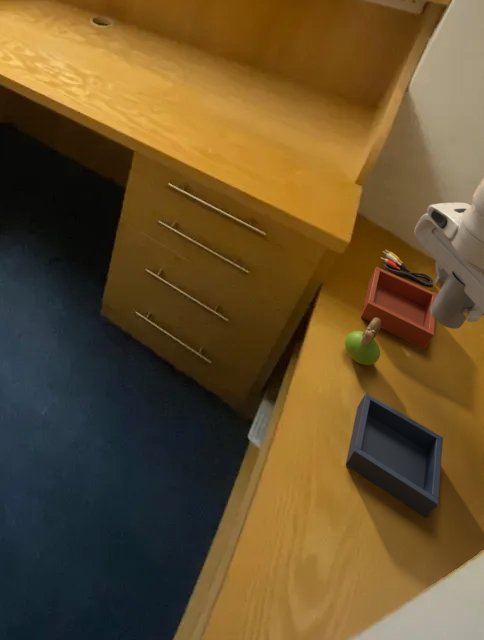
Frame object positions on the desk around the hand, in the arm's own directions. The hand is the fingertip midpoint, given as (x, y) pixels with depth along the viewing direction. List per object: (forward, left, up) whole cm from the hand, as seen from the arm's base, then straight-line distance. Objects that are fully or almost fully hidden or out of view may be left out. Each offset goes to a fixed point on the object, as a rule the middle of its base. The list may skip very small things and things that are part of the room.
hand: (454, 301), depth 85 cm
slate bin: (+15, +14, -18) cm, 27 cm away
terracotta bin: (-3, -9, -18) cm, 20 cm away
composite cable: (-11, -18, -18) cm, 28 cm away
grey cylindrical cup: (0, 0, -4) cm, 4 cm away
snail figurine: (+11, -1, -18) cm, 21 cm away
